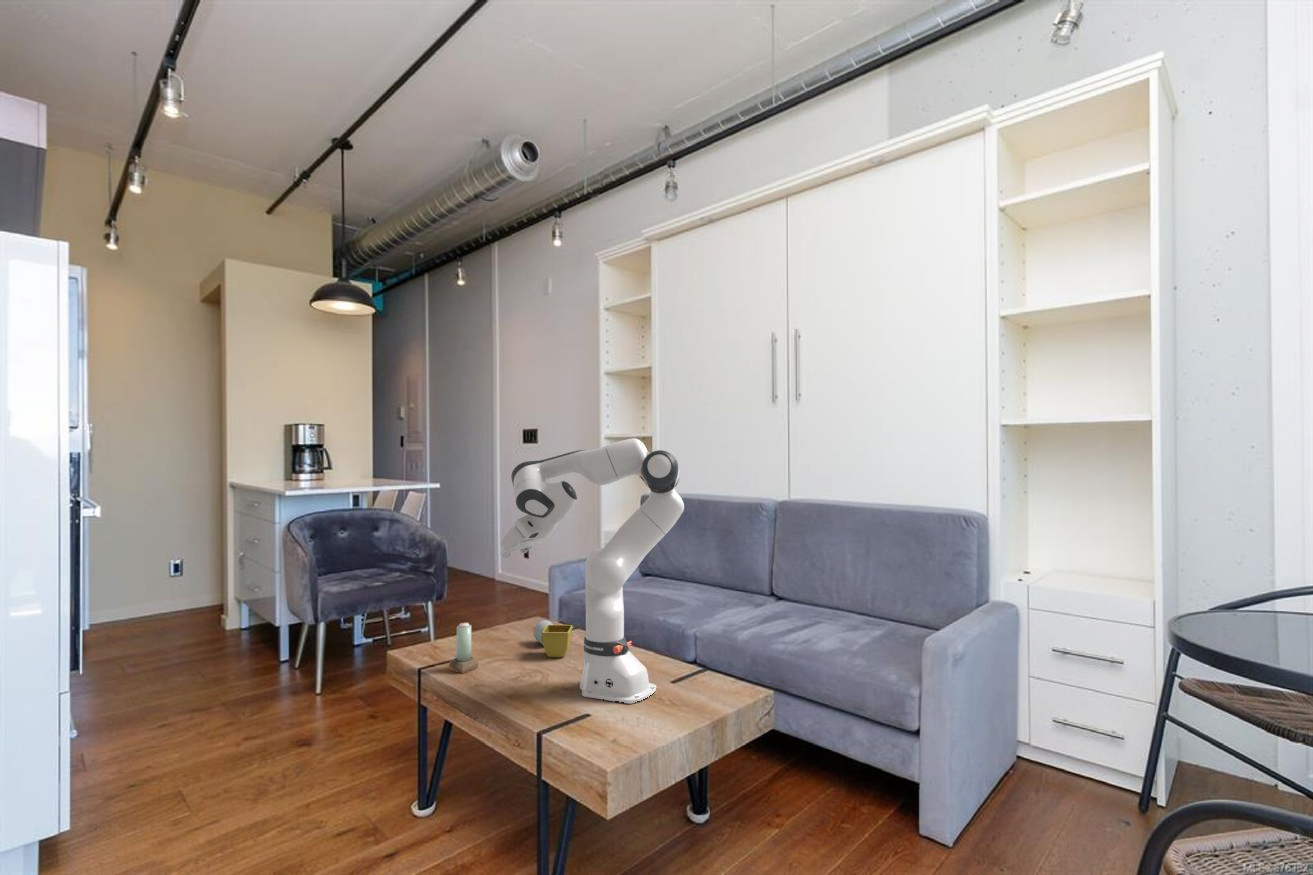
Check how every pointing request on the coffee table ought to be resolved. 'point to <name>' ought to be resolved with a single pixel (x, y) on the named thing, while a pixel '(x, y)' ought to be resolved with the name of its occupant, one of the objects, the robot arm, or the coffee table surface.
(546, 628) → the flower pot
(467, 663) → the base
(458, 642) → the column
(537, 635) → the ceramic mug
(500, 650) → the coffee table surface
